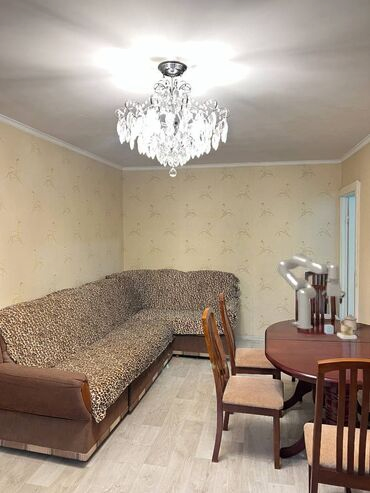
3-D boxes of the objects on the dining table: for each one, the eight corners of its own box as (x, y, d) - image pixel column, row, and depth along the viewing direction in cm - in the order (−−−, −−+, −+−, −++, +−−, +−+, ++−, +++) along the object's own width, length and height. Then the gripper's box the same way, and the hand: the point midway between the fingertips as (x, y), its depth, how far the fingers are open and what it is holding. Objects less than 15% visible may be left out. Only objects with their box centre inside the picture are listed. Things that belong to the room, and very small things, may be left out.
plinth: (342, 339, 260) (342, 336, 260) (337, 335, 270) (337, 332, 270) (356, 338, 260) (356, 336, 260) (350, 335, 270) (350, 332, 270)
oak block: (344, 335, 262) (344, 327, 262) (340, 333, 268) (340, 325, 268) (352, 335, 262) (352, 327, 262) (349, 333, 268) (349, 325, 268)
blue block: (326, 334, 274) (326, 326, 274) (324, 332, 279) (324, 324, 279) (333, 334, 274) (333, 326, 274) (331, 332, 279) (331, 324, 279)
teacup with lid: (357, 329, 288) (357, 314, 288) (355, 331, 281) (355, 316, 280) (341, 327, 295) (341, 312, 295) (338, 329, 288) (338, 314, 287)
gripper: (322, 281, 274) (322, 304, 274) (346, 281, 270) (347, 304, 271) (320, 280, 281) (320, 302, 282) (344, 280, 278) (344, 302, 278)
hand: (333, 303), depth 276 cm, fingers open, 9 cm apart
